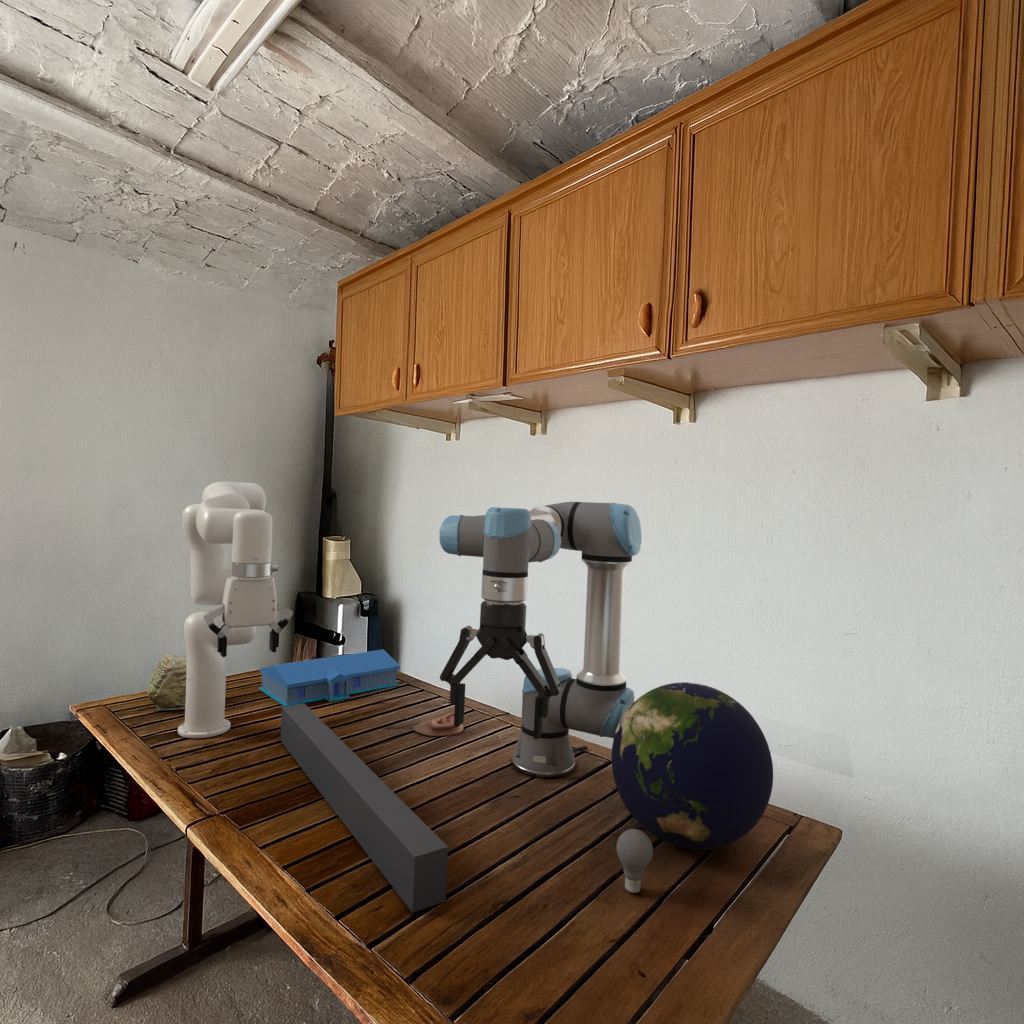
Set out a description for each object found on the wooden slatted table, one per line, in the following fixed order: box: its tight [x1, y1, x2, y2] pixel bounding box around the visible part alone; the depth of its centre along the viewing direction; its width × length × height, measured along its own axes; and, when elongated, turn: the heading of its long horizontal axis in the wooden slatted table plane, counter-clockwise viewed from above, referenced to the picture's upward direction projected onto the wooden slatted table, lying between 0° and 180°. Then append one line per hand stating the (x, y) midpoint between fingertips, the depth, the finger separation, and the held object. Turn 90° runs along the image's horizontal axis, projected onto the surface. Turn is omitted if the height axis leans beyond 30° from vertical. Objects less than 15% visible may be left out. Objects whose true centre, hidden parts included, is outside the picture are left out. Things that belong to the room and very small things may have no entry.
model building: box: [258, 649, 401, 707], centre depth 208 cm, size 39×24×10 cm, turn 132°
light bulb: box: [615, 828, 654, 894], centre depth 106 cm, size 6×6×10 cm
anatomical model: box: [412, 712, 464, 737], centre depth 175 cm, size 13×4×12 cm
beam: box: [280, 703, 449, 914], centre depth 132 cm, size 79×6×9 cm, turn 34°
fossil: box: [147, 654, 187, 712], centre depth 185 cm, size 9×18×15 cm, turn 132°
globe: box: [610, 681, 774, 851], centre depth 122 cm, size 30×30×30 cm
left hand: (248, 653), depth 131 cm, fingers open, 9 cm apart
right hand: (497, 730), depth 104 cm, fingers open, 13 cm apart
